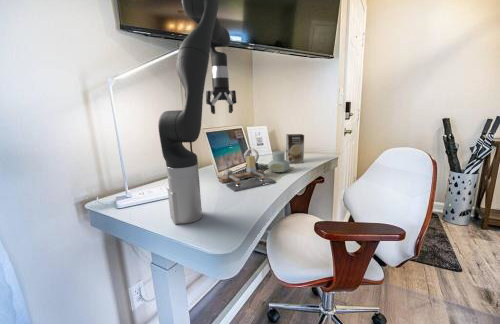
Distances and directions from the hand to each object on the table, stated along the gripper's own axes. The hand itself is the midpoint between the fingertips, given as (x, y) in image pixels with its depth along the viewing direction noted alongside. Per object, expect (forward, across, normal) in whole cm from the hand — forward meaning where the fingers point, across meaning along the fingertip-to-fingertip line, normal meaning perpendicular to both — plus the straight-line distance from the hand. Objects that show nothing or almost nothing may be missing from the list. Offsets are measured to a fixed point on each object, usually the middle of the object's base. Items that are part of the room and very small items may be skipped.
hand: (222, 113), depth 121 cm
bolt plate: (+30, +3, -20) cm, 37 cm away
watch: (+30, +16, +2) cm, 34 cm away
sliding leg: (+29, +9, -15) cm, 33 cm away
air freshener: (+30, +25, -10) cm, 41 cm away
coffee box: (+30, +44, +1) cm, 53 cm away
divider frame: (+30, +4, -14) cm, 34 cm away
